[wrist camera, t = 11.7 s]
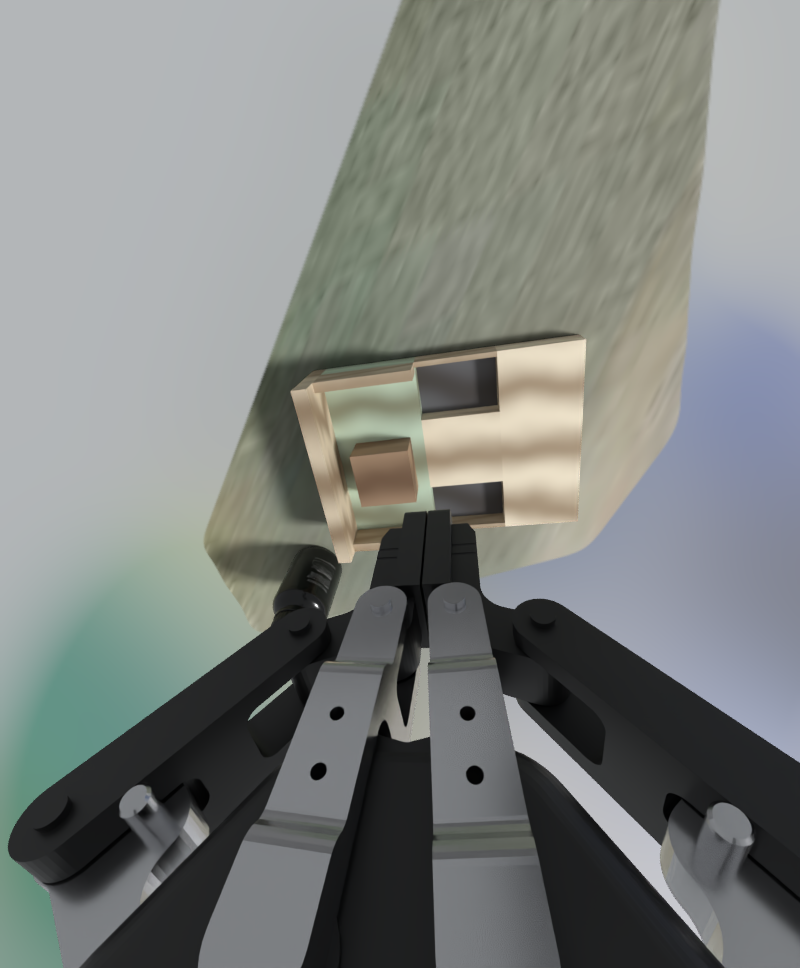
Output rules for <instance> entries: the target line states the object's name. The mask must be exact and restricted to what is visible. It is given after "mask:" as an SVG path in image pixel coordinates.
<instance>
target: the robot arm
mask: <svg viewBox="0 0 800 968" xmlns="http://www.w3.org/2000/svg"><path fill="white" fill-rule="evenodd" d="M421 648H430V663H428V687H429V716H430V737H428V738H424V739H420V740H416V741H412V742H411V731H412V725H413V718H414V711H415V705H416V699H417V693H418V686H419V679H420V665H419V663H420V655H421ZM290 679H291V680H292V683H293V684H292V685H291V686H289V687H288V688H287V689H286V690H285V691H283V692H282V693H281V694H280V695H279V696H278V697H276V698H275V699H274V700H273V701H272V702H271V703H269V704H268V705H267V706H266V707H265V708H263V709H262V710H261V711H260V712H259V713H258V714H256V715H255V716H254V717H253V718H252V719H250V720H249V721H248V719H249V717H250V715H251V714H252V712H253V711H254V710H255V709H256V708H257V707H258V706H259V705H261V704H262V703H263V702H264V701H265V700H266V699H268V698H269V697H270V696H271V695H273V694H274V693H275V692H276V691H277V690H278V689H280V688H281V687H282V686H283V685H284V684H286V683H287V682H288V681H289V680H290ZM503 694H505V695H508V696H511V697H514V698H516V699H517V701H518V704H519V705H520V707H521V708H522V709H523V710H524V711H525V712H526V713H527V714H528V715H529V716H530V717H531V718H532V719H533V720H534V721H535V722H536V723H537V724H538V725H539V726H540V727H541V728H542V729H543V730H544V731H545V732H546V733H547V734H548V735H549V736H550V737H551V738H552V739H553V740H554V741H555V742H556V743H557V744H559V746H560V747H561V748H562V749H563V750H564V751H565V752H566V753H567V754H568V755H569V756H571V757H572V759H573V760H574V761H575V762H577V763H578V764H579V765H580V766H581V767H582V768H583V769H584V770H585V771H586V772H587V773H588V774H589V775H590V776H591V777H592V778H593V779H594V780H595V781H596V782H597V783H598V784H599V785H600V786H601V787H602V788H603V789H604V790H605V791H606V792H607V793H608V794H609V795H610V796H611V797H612V798H613V799H614V800H615V801H616V802H617V803H618V804H619V805H620V806H621V807H622V808H623V809H624V810H625V811H626V812H627V813H628V814H629V815H631V817H633V818H634V820H635V821H637V822H638V823H639V824H640V825H641V826H642V827H643V828H644V829H645V830H646V831H647V832H648V833H649V834H650V835H651V836H652V837H653V838H654V839H655V840H656V841H657V842H658V843H659V844H660V845H661V852H660V863H661V869H662V873H663V875H664V878H665V881H666V883H667V885H668V887H669V889H670V891H671V893H672V894H673V896H674V897H675V899H676V900H677V901H678V903H679V904H680V905H681V906H682V908H683V909H684V910H685V911H686V913H687V914H688V915H689V916H690V918H691V920H692V922H693V923H694V925H695V926H696V928H697V930H698V932H699V934H700V936H701V939H702V941H703V942H702V941H701V940H700V939H699V938H698V937H697V936H696V935H695V933H694V932H693V931H692V930H691V929H690V928H689V926H688V925H687V924H686V923H685V922H684V921H683V920H682V919H681V917H680V916H679V915H678V914H677V913H676V912H675V911H674V910H673V908H672V907H671V906H670V905H669V904H668V903H667V902H666V901H665V899H664V898H663V897H662V896H661V895H660V894H659V893H658V892H657V890H656V889H655V888H654V887H653V886H652V885H651V884H650V883H649V881H648V880H647V879H646V878H645V877H644V876H643V875H642V874H641V872H639V870H638V869H637V868H636V867H635V866H634V865H633V864H632V862H631V861H630V860H629V859H628V858H627V857H626V856H625V855H624V853H623V852H622V851H621V850H620V849H619V848H618V847H617V845H616V844H615V843H614V842H613V841H612V840H611V839H610V838H609V837H608V835H607V834H606V833H605V832H604V831H603V830H602V829H601V827H600V826H599V825H598V824H597V823H596V822H595V821H594V820H593V818H592V817H591V816H590V815H589V814H588V813H587V812H586V810H585V809H584V808H583V807H582V806H581V805H580V804H579V803H578V801H577V800H576V799H575V798H574V797H573V796H572V795H571V793H570V792H569V791H568V790H567V789H566V788H565V787H564V786H563V784H561V783H560V781H559V780H558V779H557V778H556V777H555V776H554V775H553V774H551V773H550V772H549V771H548V770H547V769H546V768H544V767H543V766H542V765H540V764H539V763H537V762H536V761H534V760H533V759H531V758H529V757H527V756H526V755H524V754H522V753H519V752H517V751H515V750H514V746H513V741H512V736H511V731H510V726H509V721H508V717H507V712H506V707H505V702H504V697H503ZM8 851H9V854H10V856H11V858H12V859H14V860H15V861H16V862H17V863H18V864H20V865H21V866H22V867H23V868H25V869H26V870H27V871H28V872H29V873H31V874H32V875H33V877H34V879H35V881H36V882H37V883H38V884H39V885H40V886H42V887H43V888H44V889H45V890H46V891H48V892H49V894H50V899H51V904H52V909H53V915H54V920H55V925H56V931H57V936H58V941H59V946H60V951H61V957H62V962H63V967H64V968H800V763H799V762H797V761H796V760H795V759H793V758H792V757H790V756H788V755H787V754H785V753H784V752H782V751H781V750H779V749H778V748H776V747H775V746H773V745H772V744H770V743H769V742H767V741H766V740H764V739H763V738H761V737H760V736H758V735H757V734H755V733H754V732H752V731H751V730H749V729H748V728H746V727H745V726H743V725H742V724H740V723H739V722H737V721H736V720H734V719H732V718H731V717H730V716H728V715H727V714H725V713H724V712H722V711H721V710H719V709H718V708H716V707H714V706H713V705H712V704H710V703H709V702H707V701H706V700H704V699H703V698H701V697H699V696H698V695H697V694H695V693H693V692H692V691H690V690H689V689H688V688H686V687H685V686H683V685H682V684H680V683H678V682H677V681H675V680H674V679H672V678H671V677H669V676H668V675H666V674H665V673H663V672H662V671H660V670H659V669H657V668H656V667H654V666H653V665H651V664H650V663H648V662H647V661H645V660H644V659H642V658H641V657H639V656H638V655H636V654H635V653H633V652H632V651H630V650H629V649H627V648H626V647H624V646H623V645H621V644H620V643H618V642H617V641H615V640H614V639H612V638H611V637H609V636H608V635H606V634H605V633H603V632H602V631H600V630H599V629H597V628H596V627H594V626H592V625H591V624H589V623H588V622H586V621H585V620H584V619H582V618H581V617H579V616H578V615H576V614H574V613H573V612H572V611H570V610H569V609H567V608H566V607H564V606H562V605H560V604H559V603H556V602H554V601H551V600H547V599H532V600H528V601H525V602H523V603H521V604H520V605H518V606H517V608H516V609H515V610H514V609H510V608H505V607H501V606H498V605H496V604H494V603H492V602H491V601H489V600H488V599H487V598H486V597H485V596H484V595H483V593H482V591H481V588H480V579H479V568H478V557H477V546H476V535H475V531H474V530H473V529H472V528H471V526H470V525H469V524H468V523H461V524H452V516H451V509H443V510H430V511H428V513H427V511H419V512H406V513H405V514H404V519H403V525H402V528H392V529H389V530H388V532H387V533H386V534H385V535H384V536H383V537H382V539H381V543H380V548H379V552H378V556H377V561H376V565H375V569H374V573H373V578H372V582H371V586H370V590H368V591H367V592H365V593H364V594H363V595H362V596H361V597H360V598H359V599H358V601H357V603H356V606H355V608H354V610H352V611H350V612H348V613H345V614H342V615H339V616H335V617H332V618H328V619H326V616H325V614H324V613H323V612H322V611H321V610H319V609H316V608H302V609H298V610H295V611H293V612H291V613H289V614H288V615H286V616H285V617H283V618H282V619H281V620H279V621H278V622H276V623H275V624H274V625H272V626H271V627H270V628H268V629H267V630H265V631H264V632H263V633H261V634H260V635H259V636H257V637H256V638H255V639H253V640H252V641H250V642H249V643H248V644H246V645H245V646H243V647H242V648H241V649H239V650H238V651H237V652H235V653H234V654H233V655H231V656H230V657H228V658H227V659H226V660H224V661H223V662H221V663H220V664H219V665H217V666H216V667H215V668H213V669H212V670H210V671H209V672H208V673H206V674H205V675H204V676H202V677H201V678H199V679H198V680H197V681H195V682H194V683H193V684H191V685H190V686H189V687H187V688H186V689H184V690H183V691H182V692H180V693H179V694H178V695H176V696H175V697H173V698H172V699H171V700H169V701H168V702H166V703H165V704H164V705H162V706H161V707H160V708H158V709H157V710H155V711H154V712H153V713H151V714H150V715H149V716H147V717H146V718H145V719H143V720H142V721H140V722H139V723H138V724H136V725H135V726H133V727H132V728H131V729H129V730H128V731H127V732H125V733H124V734H122V735H121V736H120V737H118V738H117V739H116V740H114V741H113V742H111V743H110V744H109V745H107V746H106V747H105V748H103V749H102V750H100V751H99V752H98V753H96V754H95V755H93V756H92V757H91V758H89V759H88V760H87V761H85V762H84V763H83V764H81V765H80V766H78V767H77V768H76V769H74V770H73V771H71V772H70V773H69V774H67V775H66V776H65V777H63V778H62V779H60V780H59V781H58V782H56V783H55V784H54V785H52V786H51V787H49V788H48V789H47V790H46V791H44V792H43V793H42V794H41V795H39V796H38V797H37V798H36V799H35V800H34V801H33V802H32V803H31V804H30V805H29V806H28V808H27V809H26V810H25V811H24V812H23V814H22V815H21V817H20V818H19V820H18V821H17V823H16V824H15V826H14V828H13V830H12V833H11V835H10V839H9V843H8Z"/></svg>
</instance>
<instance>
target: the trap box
mask: <svg viewBox="0 0 800 968" xmlns="http://www.w3.org/2000/svg"><path fill="white" fill-rule="evenodd" d="M585 353H586V339H585V338H584V337H582V336H581V335H571V336H564V337H557V338H549V339H542V340H535V341H527V342H520V343H513V344H505V345H498V346H491V347H483V348H476V349H469V350H462V351H454V352H447V353H440V354H432V355H425V356H418V357H410V358H403V359H396V360H388V361H381V362H374V363H366V364H359V365H352V366H344V367H337V368H330V369H323V370H315V371H312V372H311V373H310V374H309V375H308V376H307V377H306V378H305V379H303V380H302V381H301V382H300V383H299V384H298V385H297V386H296V387H294V388H293V389H292V390H291V395H292V399H293V402H294V406H295V409H296V413H297V416H298V420H299V424H300V427H301V431H302V434H303V438H304V441H305V445H306V449H307V452H308V456H309V459H310V463H311V467H312V470H313V474H314V477H315V481H316V484H317V488H318V492H319V495H320V499H321V502H322V506H323V509H324V513H325V517H326V520H327V524H328V527H329V531H330V535H331V538H332V542H333V545H334V549H335V552H336V556H337V560H338V563H351V562H352V559H353V556H354V552H355V551H371V550H379V548H380V543H381V539H382V537H383V536H384V535H385V534H386V533H387V532H388V530H389V529H392V528H402V525H403V519H404V514H405V513H406V512H419V511H427V513H428V511H430V510H443V509H451V516H452V524H461V523H468V524H469V525H470V526H471V528H472V529H474V528H489V527H503V526H518V525H532V524H546V523H561V522H575V521H578V502H579V481H580V459H581V438H582V417H583V396H584V375H585ZM408 437H410V438H411V444H412V450H413V456H414V462H415V468H416V474H417V480H418V494H417V501H416V502H414V503H403V504H392V505H380V506H369V507H361V503H360V499H359V495H358V490H357V486H356V482H355V478H354V474H353V470H352V466H351V461H350V455H351V453H352V451H353V449H354V447H355V445H356V443H365V442H373V441H382V440H391V439H399V438H408Z"/></svg>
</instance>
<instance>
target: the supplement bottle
mask: <svg viewBox="0 0 800 968" xmlns="http://www.w3.org/2000/svg"><path fill="white" fill-rule="evenodd" d="M341 573H342V566H341V563H338V560H337V557H336V556H335V555H334V554H333V553H332V552H330V551H329V550H326V549H324V548H320V547H308V548H305V549H303V550H301V551H300V552H298V553H297V554H296V556H295V557H294V559H293V561H292V563H291V565H290V567H289V569H288V571H287V573H286V575H285V577H284V579H283V581H282V583H281V585H280V587H279V589H278V591H277V594H276V596H275V598H274V601H273V611H274V614H275V616H274V619H273V622H272V624H271V626H272V625H274V624H275V623H276V622H278V621H279V620H281V619H282V618H283V617H285V616H286V615H288V614H289V613H291V612H293V611H295V610H298V609H302V608H316V609H319V610H321V611H322V612H323V613H324V614H325V616H326V619H327V617H328V614H329V611H330V608H331V605H332V602H333V599H334V596H335V593H336V590H337V587H338V584H339V581H340V577H341Z"/></svg>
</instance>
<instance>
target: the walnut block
mask: <svg viewBox="0 0 800 968" xmlns="http://www.w3.org/2000/svg"><path fill="white" fill-rule="evenodd" d="M350 461H351V466H352V470H353V474H354V478H355V482H356V486H357V490H358V495H359V499H360V503H361V507H369V506H380V505H392V504H403V503H414V502H416V501H417V494H418V480H417V474H416V468H415V462H414V456H413V450H412V444H411V438H410V437H408V438H399V439H391V440H382V441H373V442H365V443H356V445H355V447H354V449H353V451H352V453H351V455H350Z"/></svg>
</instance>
